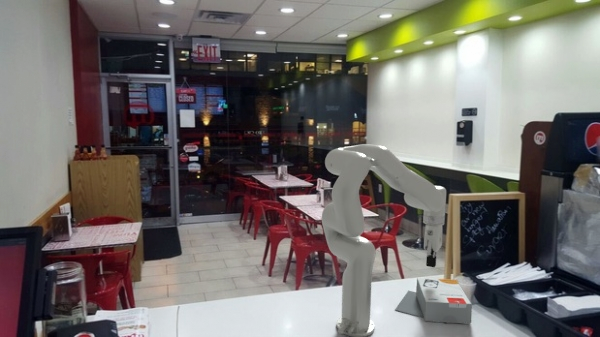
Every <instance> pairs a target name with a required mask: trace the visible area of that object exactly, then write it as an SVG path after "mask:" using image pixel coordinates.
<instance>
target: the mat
mask: <svg viewBox="0 0 600 337" xmlns="http://www.w3.org/2000/svg"><path fill="white" fill-rule="evenodd" d="M394 311H396V312H400V313H404V314H407V315H411V316H415V317H419V318H422V319H425V318H424V316H423V313H422V310H421V307H420V304H419V301H418V298H417V296H416V291H413V290H407V292H406V293H405V295H404V296H403V298H402V299H401V300H400V302H399V303H398V304H397V306H396V308H395V309H394ZM439 323H441V324H444V325H447V324H448V322H439Z"/></svg>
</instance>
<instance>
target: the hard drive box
mask: <svg viewBox="0 0 600 337" xmlns="http://www.w3.org/2000/svg"><path fill="white" fill-rule="evenodd" d="M415 290H416V291H415V292H416V296H417V298H418V301H419V304H420V307H421V310H422V313H423V316H424V318H423V319H424V321H425V322H432V323H433V322H434V323H435V322H436V323H440V322H447V323H450V324H451V323H452V324H455V323H456V324H471V323H472V312H473V303H472V302H471V300H470V299H469V296H468V295H467V294H466V292H465V291H464V289H463V287H462V286H461V283H459V281H458V279H449V278H430V277H429V278H428V277H427V278H426V277H417V278H416V289H415Z"/></svg>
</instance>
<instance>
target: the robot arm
mask: <svg viewBox="0 0 600 337" xmlns="http://www.w3.org/2000/svg"><path fill="white" fill-rule="evenodd" d="M324 164H325V168H326V169H327V171H328V172H329V173H331V174H333V175H336V176H338V178H337V179H336V181H335V182H334V184H333V186H332V190H331V200H332V202H329V203H328V204H326V205H325V207H324V208H323V210H322V212H321V224H322V227H323V232H324V236H325V239H326V243H327V246H328V249H329V251H330V253H331V254H333V256H335V257H337V258H338V259H340V260H342V261H343V262H346V263H347V264H346V267H345V269H344V271H343V273H342V284H341V285H342V286H341V287H342V288H341V292H342V293H341V317H340V318H338V319H337V322H336V327H337V331H338V333H339V334H340V335H346V336H349V337H367V336H368V337H369V336H370V335H372V334H373V333H374V331H375V323H374V321H372V319H371V304H372V302H371V301H372V278H373V267H374V263H375V259H376V257H377V256H376V253H377V252H376V247H375V245H374V244H373V242H372V241H370V239H369V240H368V239H367V238H365V237H364V236H361V235H363V233H364V231H365V228H366V227H365V226H366V225H365V224H366V222H365V218H364V212H363V209H362V203H361V200H360V189H361V186H362V183H363V181H364V180H365V178H366V177H367V175H368V173H369V172H370V171H372V172H374V173H375V174H376V175H377V176H378V177H379V178H380V179H382V180H383V181H384V182H385V183H386V184H387V185H388V186H389V187H390V188H392V189H394V190H395V191H398V192H400V193H403V194H404V195H403V199H404V202H405V204H407V206H410V207H412V208H415V209H418V210H419V209H420V210H423V217H422V220H423V221H422V223H423V224H425V225H424V226H425V227H424V235H423V236H424V238H423V249H424V250H425V251H426V263H425V265H426V267H430V268H436V266H437V252H439V251H440V249H441V247H443V246H442V245H443V226H444V225H445V218H446V206H447V205H446V204H447V189H446V188H445V187H444V186H441V185H434V183H432V182H431V181H429V180H427V179H426V178H424V177H423V176H421V175H419V174H418V173H416V172H415V171H413V170H411V169H409V168H408V167H407V166H406V165H405V164H404V163H403V162H402V161H401V160H400V159H399V158H398V157H397V156H396V155H395V154H394V153H393V152H392V151H391V150H390V149H389V148H388V147H385V146H382V145H376V144H371V143H370V144H368V143H362V144H356V145H355V144H354V145H351V146H350V145H349V146H345V147H338V148H335V149H331V150H330V151H329V152H328V153H327V154H326V157H325V160H324Z"/></svg>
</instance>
